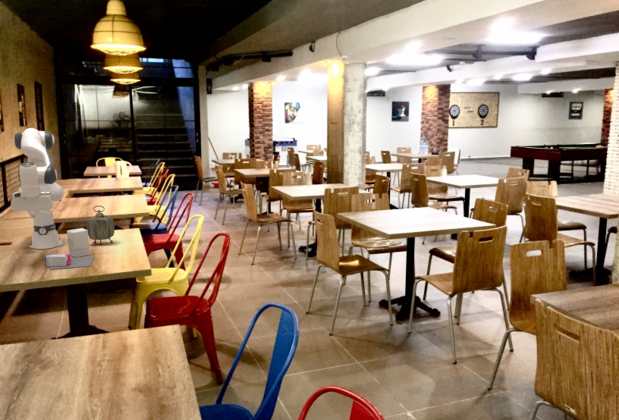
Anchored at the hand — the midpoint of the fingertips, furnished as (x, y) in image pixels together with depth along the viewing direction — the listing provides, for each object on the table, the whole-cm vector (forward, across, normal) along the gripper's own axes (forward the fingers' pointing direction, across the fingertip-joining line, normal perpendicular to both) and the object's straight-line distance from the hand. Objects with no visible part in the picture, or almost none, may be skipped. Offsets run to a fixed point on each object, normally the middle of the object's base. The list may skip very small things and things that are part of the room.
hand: (33, 217), depth 281 cm
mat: (+26, -18, +6) cm, 32 cm away
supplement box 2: (+26, -20, -12) cm, 35 cm away
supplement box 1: (+23, -6, +7) cm, 24 cm away
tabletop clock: (+27, -30, -34) cm, 53 cm away
